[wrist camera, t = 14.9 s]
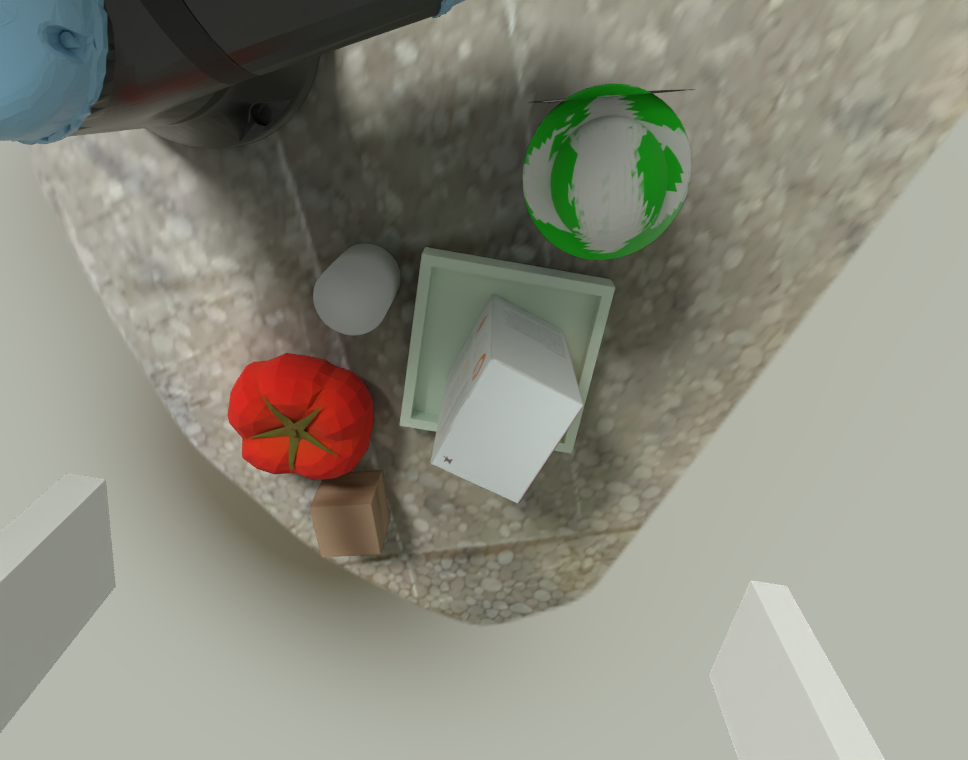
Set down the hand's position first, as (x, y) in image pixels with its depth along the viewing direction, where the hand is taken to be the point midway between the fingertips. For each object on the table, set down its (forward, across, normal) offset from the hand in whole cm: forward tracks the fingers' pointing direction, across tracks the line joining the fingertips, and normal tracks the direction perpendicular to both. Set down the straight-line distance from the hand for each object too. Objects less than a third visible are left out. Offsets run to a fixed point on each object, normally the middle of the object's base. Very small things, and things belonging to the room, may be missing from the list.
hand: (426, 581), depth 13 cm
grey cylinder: (+37, -8, -5) cm, 38 cm away
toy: (+37, +6, +6) cm, 38 cm away
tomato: (+37, -12, -16) cm, 42 cm away
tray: (+37, +3, -9) cm, 38 cm away
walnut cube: (+37, -7, -25) cm, 45 cm away
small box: (+36, +3, -9) cm, 37 cm away
